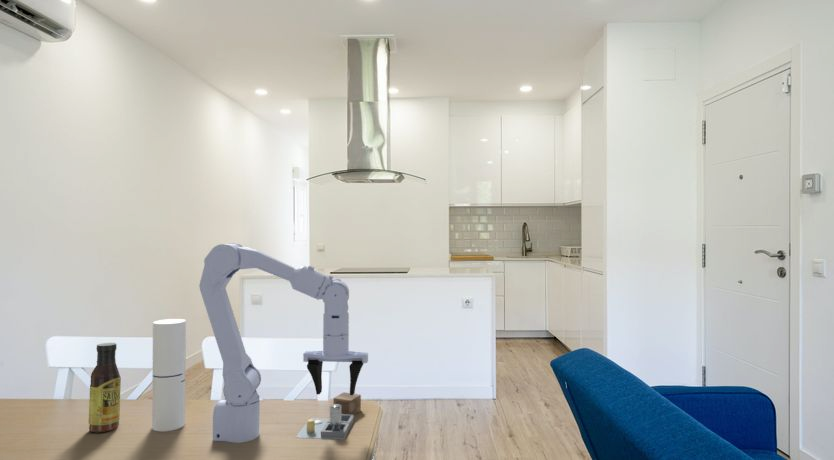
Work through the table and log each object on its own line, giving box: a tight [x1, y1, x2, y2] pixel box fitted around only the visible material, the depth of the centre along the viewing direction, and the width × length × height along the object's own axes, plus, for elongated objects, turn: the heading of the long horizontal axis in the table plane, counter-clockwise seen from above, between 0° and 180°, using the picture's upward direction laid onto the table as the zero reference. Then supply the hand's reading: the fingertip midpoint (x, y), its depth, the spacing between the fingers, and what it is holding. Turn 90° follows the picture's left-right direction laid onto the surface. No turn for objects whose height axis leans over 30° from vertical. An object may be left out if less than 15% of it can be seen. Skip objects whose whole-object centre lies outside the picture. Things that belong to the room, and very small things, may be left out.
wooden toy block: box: [332, 392, 362, 416], centre depth 132 cm, size 5×5×5 cm
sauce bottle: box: [88, 342, 122, 434], centre depth 123 cm, size 6×6×20 cm
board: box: [295, 414, 355, 440], centre depth 121 cm, size 11×12×4 cm
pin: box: [329, 404, 341, 431], centre depth 119 cm, size 3×3×6 cm
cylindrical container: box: [151, 318, 187, 432], centre depth 125 cm, size 7×7×25 cm
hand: (335, 393), depth 118 cm, fingers open, 7 cm apart
